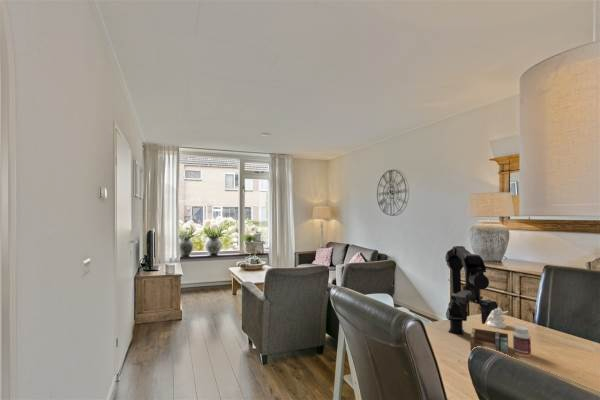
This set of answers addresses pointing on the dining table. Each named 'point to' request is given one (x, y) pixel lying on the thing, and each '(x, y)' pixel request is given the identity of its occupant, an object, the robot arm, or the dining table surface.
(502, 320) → the figurine
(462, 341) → the dining table surface
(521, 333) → the pill bottle
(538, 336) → the dining table surface
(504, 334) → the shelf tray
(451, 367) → the dining table surface
